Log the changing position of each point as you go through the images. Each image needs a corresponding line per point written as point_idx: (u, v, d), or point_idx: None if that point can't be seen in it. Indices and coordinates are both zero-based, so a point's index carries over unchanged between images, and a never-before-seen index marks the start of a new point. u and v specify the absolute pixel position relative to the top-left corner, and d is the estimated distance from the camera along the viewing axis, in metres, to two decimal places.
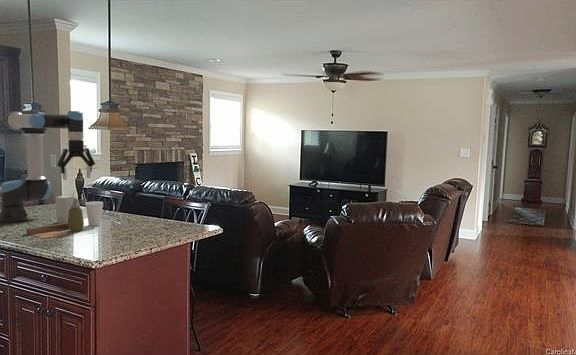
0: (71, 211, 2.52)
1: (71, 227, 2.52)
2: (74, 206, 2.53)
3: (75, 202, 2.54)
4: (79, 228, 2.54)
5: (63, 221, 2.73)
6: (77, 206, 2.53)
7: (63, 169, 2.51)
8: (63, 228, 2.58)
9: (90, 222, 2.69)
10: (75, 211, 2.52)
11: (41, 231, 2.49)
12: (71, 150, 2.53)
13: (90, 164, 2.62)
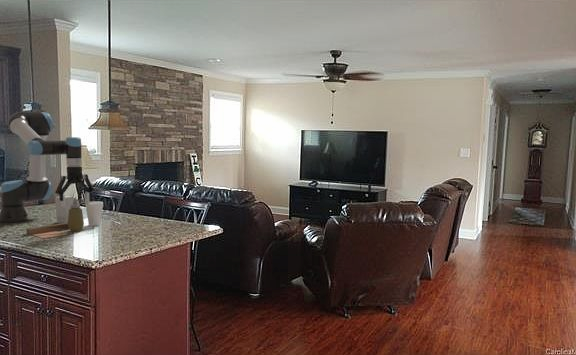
0: (71, 211, 2.52)
1: (71, 227, 2.52)
2: (74, 206, 2.53)
3: (75, 202, 2.54)
4: (79, 228, 2.54)
5: (63, 221, 2.73)
6: (77, 206, 2.53)
7: (61, 196, 2.47)
8: (63, 228, 2.58)
9: (90, 222, 2.69)
10: (75, 211, 2.52)
11: (41, 231, 2.49)
12: (69, 177, 2.50)
13: (89, 190, 2.59)
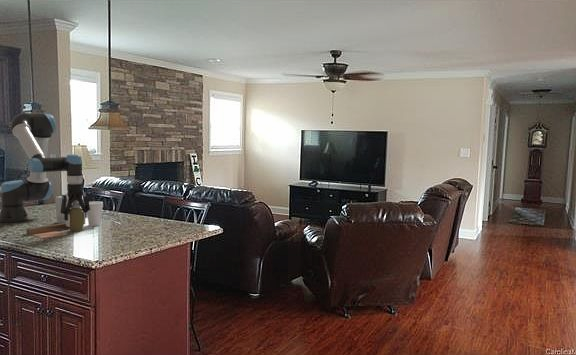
0: (71, 211, 2.52)
1: (71, 227, 2.52)
2: (74, 206, 2.53)
3: (75, 202, 2.54)
4: (79, 228, 2.54)
5: (63, 221, 2.73)
6: (77, 206, 2.53)
7: (66, 216, 2.51)
8: (63, 228, 2.58)
9: (90, 222, 2.69)
10: (75, 211, 2.52)
11: (41, 231, 2.49)
12: (70, 194, 2.51)
13: (85, 210, 2.58)
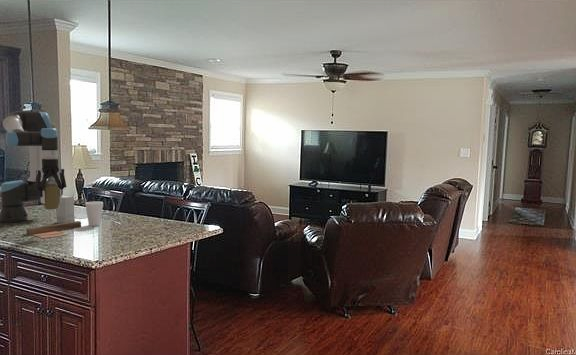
0: (46, 187, 2.40)
1: (46, 204, 2.41)
2: (49, 182, 2.41)
3: (50, 178, 2.42)
4: (55, 205, 2.43)
5: (63, 221, 2.73)
6: (52, 182, 2.42)
7: (41, 192, 2.39)
8: (63, 228, 2.58)
9: (90, 222, 2.69)
10: (50, 187, 2.41)
11: (41, 231, 2.49)
12: (45, 170, 2.39)
13: (61, 187, 2.47)
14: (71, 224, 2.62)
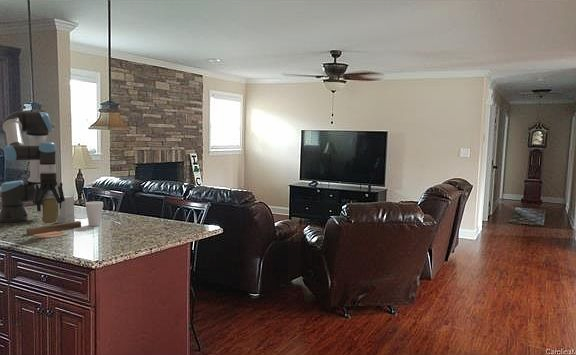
0: (44, 201, 2.40)
1: (44, 218, 2.40)
2: (47, 196, 2.41)
3: (48, 192, 2.42)
4: (53, 219, 2.42)
5: (63, 221, 2.73)
6: (50, 196, 2.42)
7: (39, 207, 2.39)
8: (63, 228, 2.58)
9: (90, 222, 2.69)
10: (48, 201, 2.40)
11: (41, 231, 2.49)
12: (43, 184, 2.39)
13: (59, 201, 2.46)
14: (71, 224, 2.62)
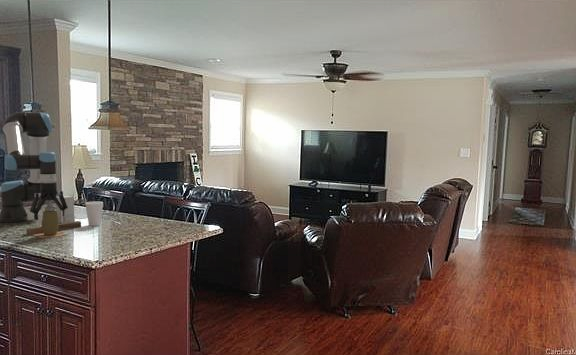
0: (45, 214, 2.41)
1: (45, 230, 2.41)
2: (48, 208, 2.41)
3: (50, 204, 2.43)
4: (53, 232, 2.43)
5: (63, 221, 2.73)
6: (52, 209, 2.42)
7: (36, 215, 2.38)
8: (63, 228, 2.58)
9: (90, 222, 2.69)
10: (49, 214, 2.41)
11: (41, 231, 2.49)
12: (43, 193, 2.40)
13: (62, 208, 2.48)
14: (71, 224, 2.62)
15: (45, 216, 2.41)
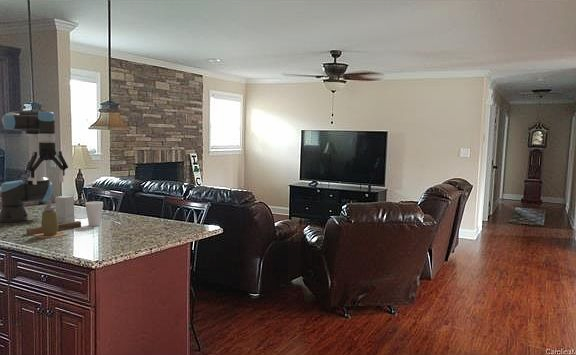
0: (44, 214, 2.41)
1: (44, 231, 2.41)
2: (47, 209, 2.42)
3: (49, 204, 2.43)
4: (53, 232, 2.43)
5: (63, 221, 2.73)
6: (51, 209, 2.42)
7: (33, 173, 2.36)
8: (63, 228, 2.58)
9: (90, 222, 2.69)
10: (49, 214, 2.41)
11: (41, 231, 2.49)
12: (42, 153, 2.39)
13: (63, 168, 2.48)
14: (71, 224, 2.62)
15: (44, 216, 2.41)
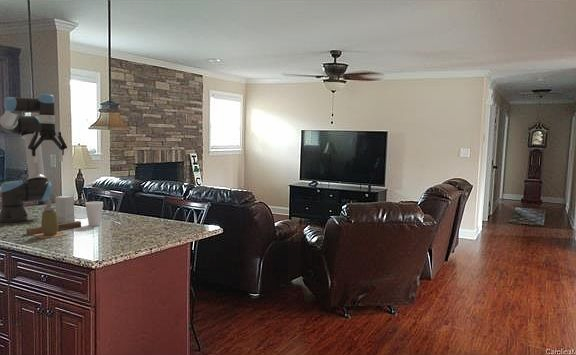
0: (44, 214, 2.41)
1: (44, 231, 2.41)
2: (48, 209, 2.41)
3: (49, 204, 2.43)
4: (53, 232, 2.43)
5: (63, 221, 2.73)
6: (51, 209, 2.42)
7: (34, 152, 2.52)
8: (63, 228, 2.58)
9: (90, 222, 2.69)
10: (49, 214, 2.41)
11: (41, 231, 2.49)
12: (42, 133, 2.54)
13: (62, 148, 2.64)
14: (71, 224, 2.62)
15: (44, 216, 2.41)
